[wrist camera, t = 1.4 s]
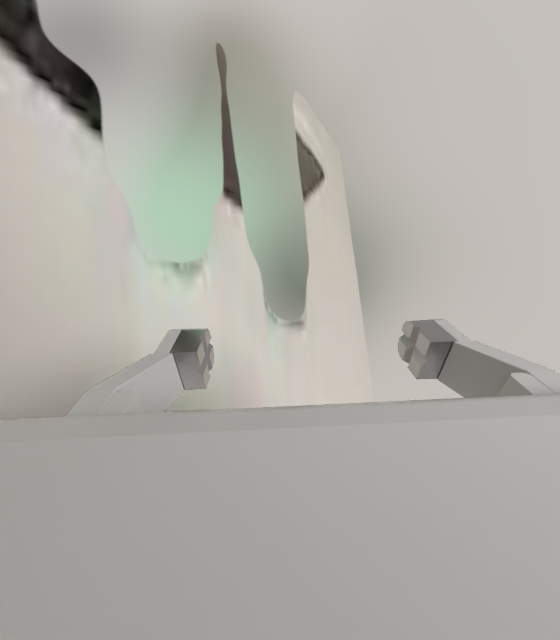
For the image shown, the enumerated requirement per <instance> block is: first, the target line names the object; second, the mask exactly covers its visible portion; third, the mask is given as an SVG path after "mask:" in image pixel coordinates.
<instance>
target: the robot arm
mask: <svg viewBox="0 0 560 640" xmlns="http://www.w3.org/2000/svg"><path fill="white" fill-rule="evenodd" d="M402 331H403V333H404V335H403V336H402V337H401V338H399V342H398V352H399V355H400V357H401V358H402V360H404V361H405V362H407V363H409V366H408V368H409V370H410V371H411V372H412V374H413V375H414V376H415V378H416V379H438V380H439V381H440V382H442V383H443V384H445V385H446V386H448V387H449V388H451V389H452V390H454V391H455V392H457V393H458V394H460V395H461V396H463V397H464V398H454V399H432V400H411V401H389V402H367V403H347V404H326V405H305V406H283V407H261V408H240V409H218V410H197V411H175V412H164V411H165V410H166V409H167V408H168V407H169V406H170V405H171V404H172V403H173V402H174V401H175V400H176V399H177V398H178V397H179V396H180V395H181V394H182V393H183V392H184V390H192V389H206V388H207V384H208V381H209V378H210V374H209V370H211V369H212V367H213V363H214V350H213V346H212V345H211V344H210V343H209V342H210V339H211V336H210V332H209V330H208V329H173V330H169V331H168V332H167V334H166V336H165V337H164V339H163V340H162V342H161V343H160V345H159V346H158V348H157V350H156V351H155V353H154V354H149V355H147V356H146V357H144V358H142V359H140V360H139V361H137V362H135V363H133V364H132V365H130V366H128V367H127V368H125V369H123V370H121V371H120V372H118V373H116V374H114V375H113V376H111V377H109V378H107V379H106V380H104V381H102V382H101V383H99V384H97V385H95V386H94V387H92V388H90V389H88V390H87V391H86V392H85V393H84V394H83V395H82V396H81V398H80V399H79V400H78V401H77V402H76V404H75V405H74V406H73V407H72V408H71V410H70V411H69V412H68V413H67V414H66V415H65V417H46V418H24V419H2V420H0V640H560V374H559V373H557V372H555V371H554V370H552V369H549V368H547V367H544V366H541V365H539V364H536V363H533V362H531V361H528V360H525V359H522V358H520V357H517V356H515V355H512V354H509V353H506V352H504V351H501V350H499V349H496V348H493V347H491V346H488V345H485V344H483V343H480V342H478V341H471V340H470V339H468V337H466V336H465V335H464V334H463V333H461V332H460V331H459V330H458V329H456V328H455V327H454V326H453V325H451V324H450V323H449V322H448V321H447V320H444V319H434V320H420V321H406V322H405V323H404V325H403V328H402Z"/></svg>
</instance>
